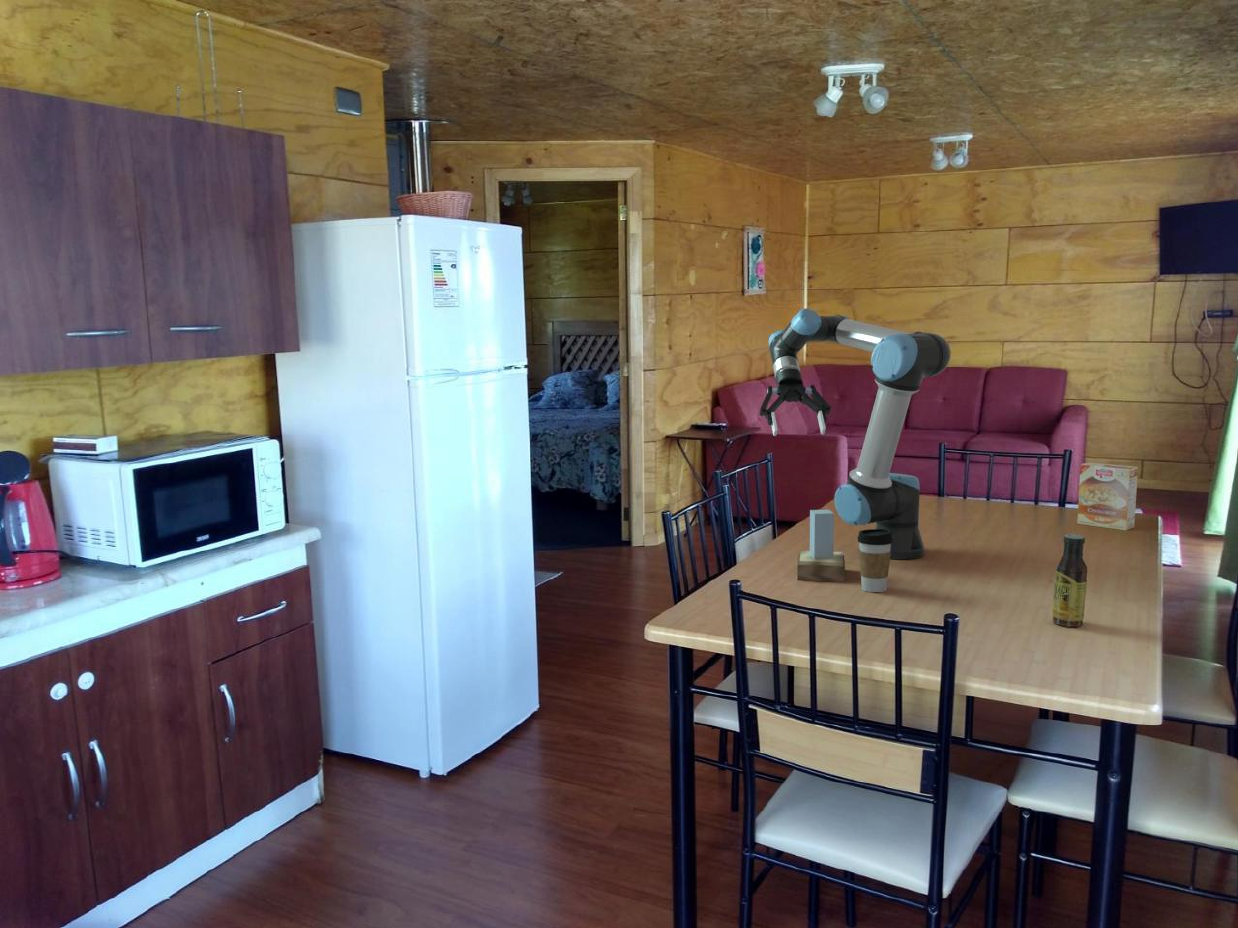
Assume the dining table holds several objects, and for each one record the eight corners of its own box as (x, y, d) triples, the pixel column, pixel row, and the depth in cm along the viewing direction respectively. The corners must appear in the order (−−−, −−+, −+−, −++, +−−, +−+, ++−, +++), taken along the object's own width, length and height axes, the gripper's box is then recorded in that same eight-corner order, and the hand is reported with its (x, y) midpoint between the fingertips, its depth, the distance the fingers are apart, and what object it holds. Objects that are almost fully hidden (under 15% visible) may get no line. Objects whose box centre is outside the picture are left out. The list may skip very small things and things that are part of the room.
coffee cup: (893, 594, 228) (894, 535, 225) (857, 593, 229) (858, 534, 227) (890, 585, 236) (891, 527, 234) (855, 584, 238) (856, 526, 235)
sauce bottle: (1046, 620, 207) (1050, 532, 204) (1073, 618, 207) (1078, 531, 204) (1062, 629, 200) (1067, 539, 197) (1090, 628, 201) (1095, 538, 198)
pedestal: (843, 569, 252) (844, 551, 251) (844, 581, 240) (845, 562, 239) (798, 567, 254) (798, 550, 253) (797, 579, 243) (797, 561, 242)
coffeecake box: (1076, 524, 300) (1079, 464, 297) (1085, 520, 304) (1088, 461, 301) (1126, 531, 289) (1130, 468, 286) (1134, 527, 293) (1138, 466, 290)
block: (828, 553, 249) (828, 509, 247) (833, 558, 244) (833, 513, 242) (809, 554, 249) (810, 510, 247) (814, 558, 244) (814, 513, 242)
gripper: (827, 383, 277) (840, 439, 265) (744, 385, 276) (753, 441, 264) (832, 366, 271) (846, 422, 259) (747, 368, 270) (757, 425, 258)
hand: (799, 432), depth 261 cm, fingers open, 13 cm apart
